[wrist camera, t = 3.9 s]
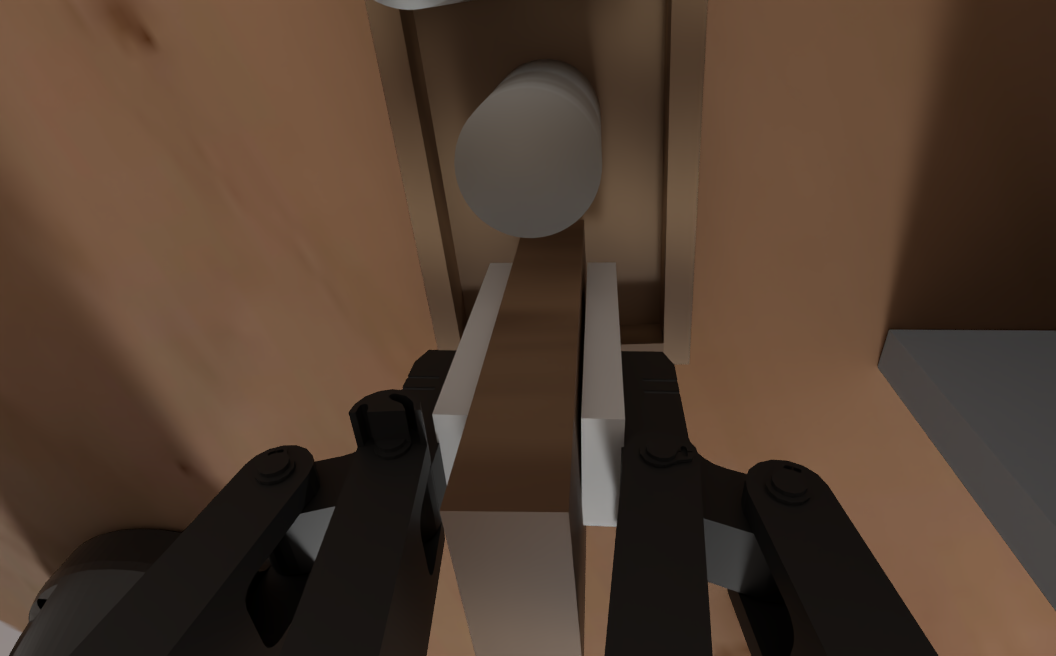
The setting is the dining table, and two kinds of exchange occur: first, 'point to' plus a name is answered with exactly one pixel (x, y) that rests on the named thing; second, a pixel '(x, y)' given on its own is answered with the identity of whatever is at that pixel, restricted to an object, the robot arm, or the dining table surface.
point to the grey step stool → (990, 425)
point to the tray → (541, 254)
